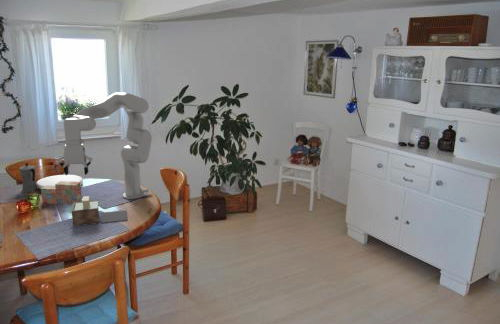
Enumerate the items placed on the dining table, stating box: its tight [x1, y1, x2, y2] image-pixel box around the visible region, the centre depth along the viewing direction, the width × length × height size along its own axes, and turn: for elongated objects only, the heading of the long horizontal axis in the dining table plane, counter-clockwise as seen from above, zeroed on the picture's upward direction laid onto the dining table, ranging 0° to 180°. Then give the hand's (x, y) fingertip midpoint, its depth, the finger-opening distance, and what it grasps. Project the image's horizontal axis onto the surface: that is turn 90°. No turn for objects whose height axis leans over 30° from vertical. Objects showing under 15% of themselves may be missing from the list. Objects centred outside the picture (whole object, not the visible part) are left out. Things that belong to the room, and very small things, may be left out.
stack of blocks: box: [40, 181, 83, 206], centre depth 242 cm, size 21×6×12 cm, turn 85°
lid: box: [74, 195, 99, 210], centre depth 216 cm, size 11×11×5 cm
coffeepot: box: [18, 162, 39, 193], centre depth 260 cm, size 15×9×18 cm, turn 53°
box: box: [71, 199, 100, 227], centre depth 218 cm, size 12×13×8 cm
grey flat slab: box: [100, 209, 128, 224], centre depth 223 cm, size 13×14×1 cm
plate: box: [36, 174, 84, 190], centre depth 270 cm, size 28×6×27 cm
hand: (76, 174), depth 216 cm, fingers open, 9 cm apart
